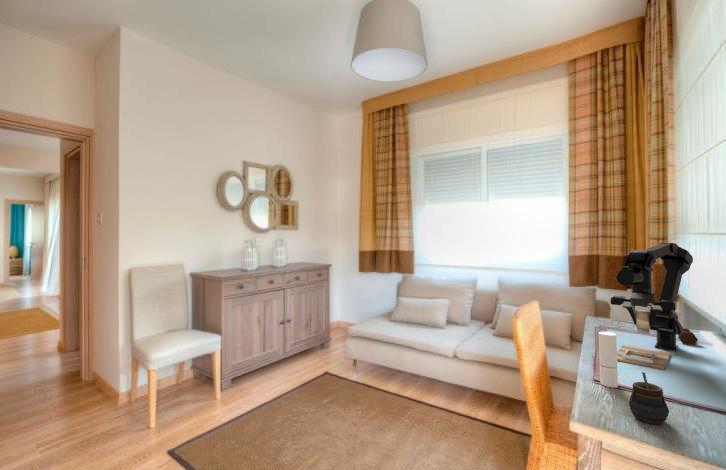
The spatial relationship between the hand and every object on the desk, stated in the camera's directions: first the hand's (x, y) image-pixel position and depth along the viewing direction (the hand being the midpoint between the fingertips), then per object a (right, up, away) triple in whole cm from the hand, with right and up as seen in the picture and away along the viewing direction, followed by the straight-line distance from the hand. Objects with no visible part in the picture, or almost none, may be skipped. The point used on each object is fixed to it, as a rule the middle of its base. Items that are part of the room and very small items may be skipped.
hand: (643, 325), depth 128 cm
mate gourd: (-36, -10, -46) cm, 59 cm away
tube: (-31, -11, -26) cm, 42 cm away
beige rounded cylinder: (0, -3, 0) cm, 2 cm away
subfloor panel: (-4, -10, -4) cm, 12 cm away
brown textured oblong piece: (+30, -10, +15) cm, 35 cm away
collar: (-7, -10, -7) cm, 15 cm away
